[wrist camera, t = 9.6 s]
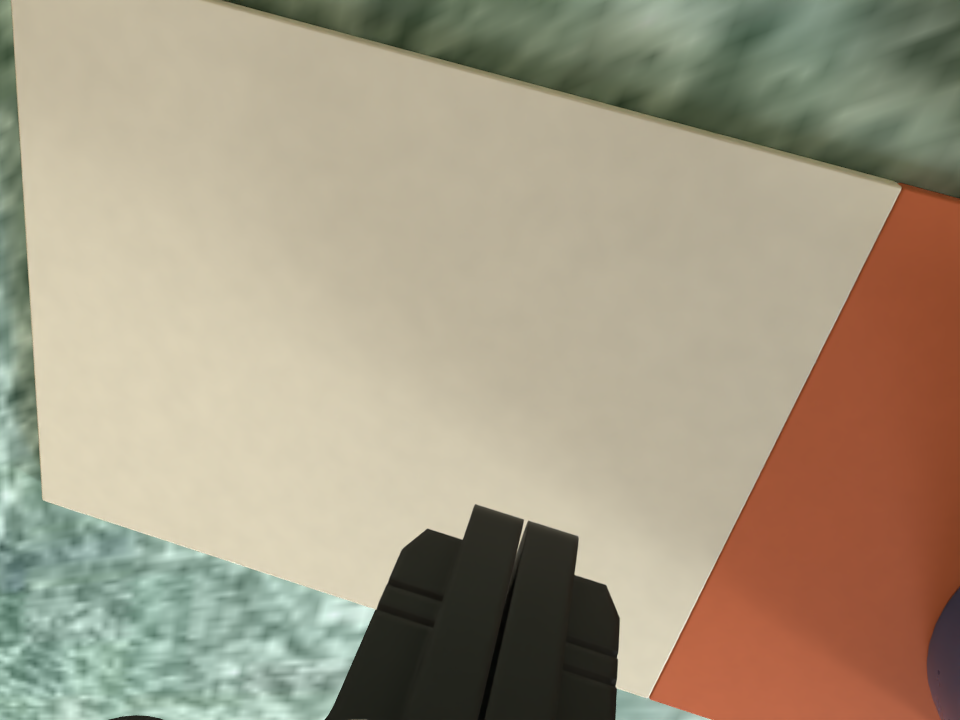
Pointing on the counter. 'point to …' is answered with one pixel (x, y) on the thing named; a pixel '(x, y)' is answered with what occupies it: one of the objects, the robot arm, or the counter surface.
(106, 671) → the counter surface
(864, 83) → the counter surface
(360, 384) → the mat
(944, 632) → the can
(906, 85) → the counter surface
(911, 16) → the counter surface
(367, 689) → the robot arm
